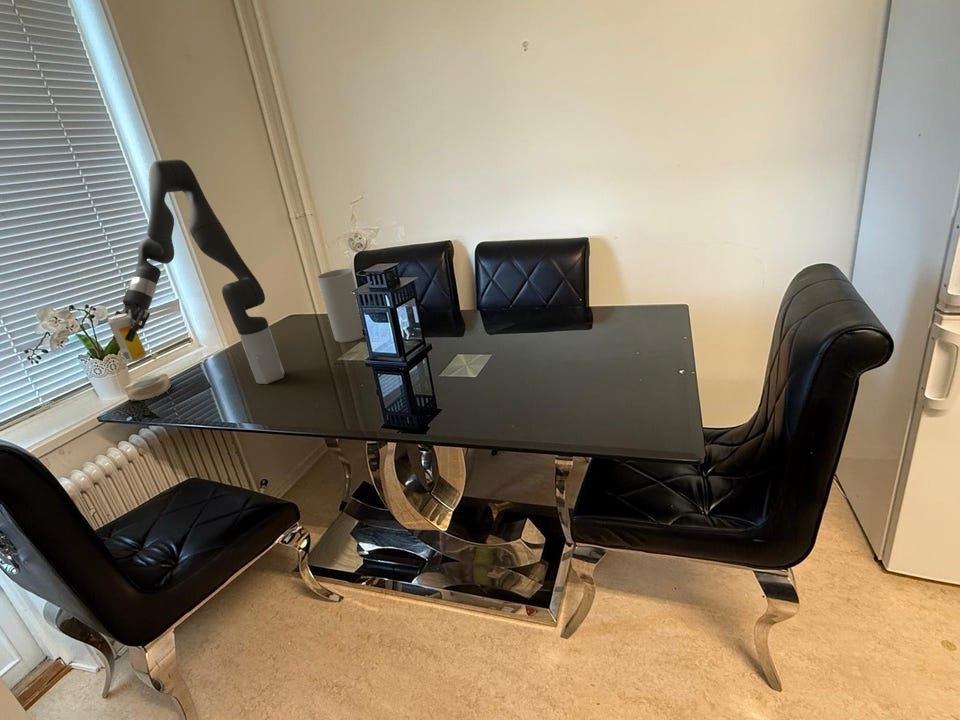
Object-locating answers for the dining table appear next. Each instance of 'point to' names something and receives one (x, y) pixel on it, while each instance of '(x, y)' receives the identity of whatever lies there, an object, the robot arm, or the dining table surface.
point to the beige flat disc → (148, 387)
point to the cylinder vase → (341, 304)
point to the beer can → (120, 330)
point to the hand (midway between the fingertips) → (122, 340)
